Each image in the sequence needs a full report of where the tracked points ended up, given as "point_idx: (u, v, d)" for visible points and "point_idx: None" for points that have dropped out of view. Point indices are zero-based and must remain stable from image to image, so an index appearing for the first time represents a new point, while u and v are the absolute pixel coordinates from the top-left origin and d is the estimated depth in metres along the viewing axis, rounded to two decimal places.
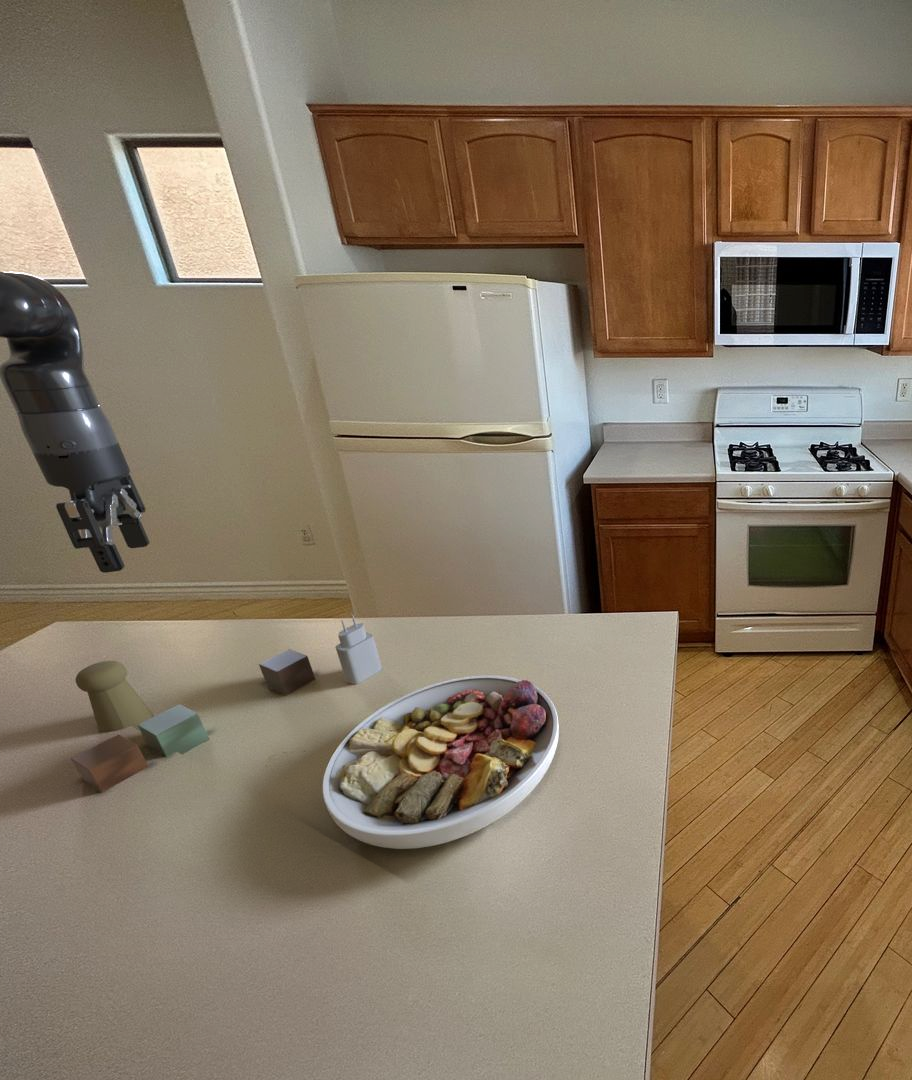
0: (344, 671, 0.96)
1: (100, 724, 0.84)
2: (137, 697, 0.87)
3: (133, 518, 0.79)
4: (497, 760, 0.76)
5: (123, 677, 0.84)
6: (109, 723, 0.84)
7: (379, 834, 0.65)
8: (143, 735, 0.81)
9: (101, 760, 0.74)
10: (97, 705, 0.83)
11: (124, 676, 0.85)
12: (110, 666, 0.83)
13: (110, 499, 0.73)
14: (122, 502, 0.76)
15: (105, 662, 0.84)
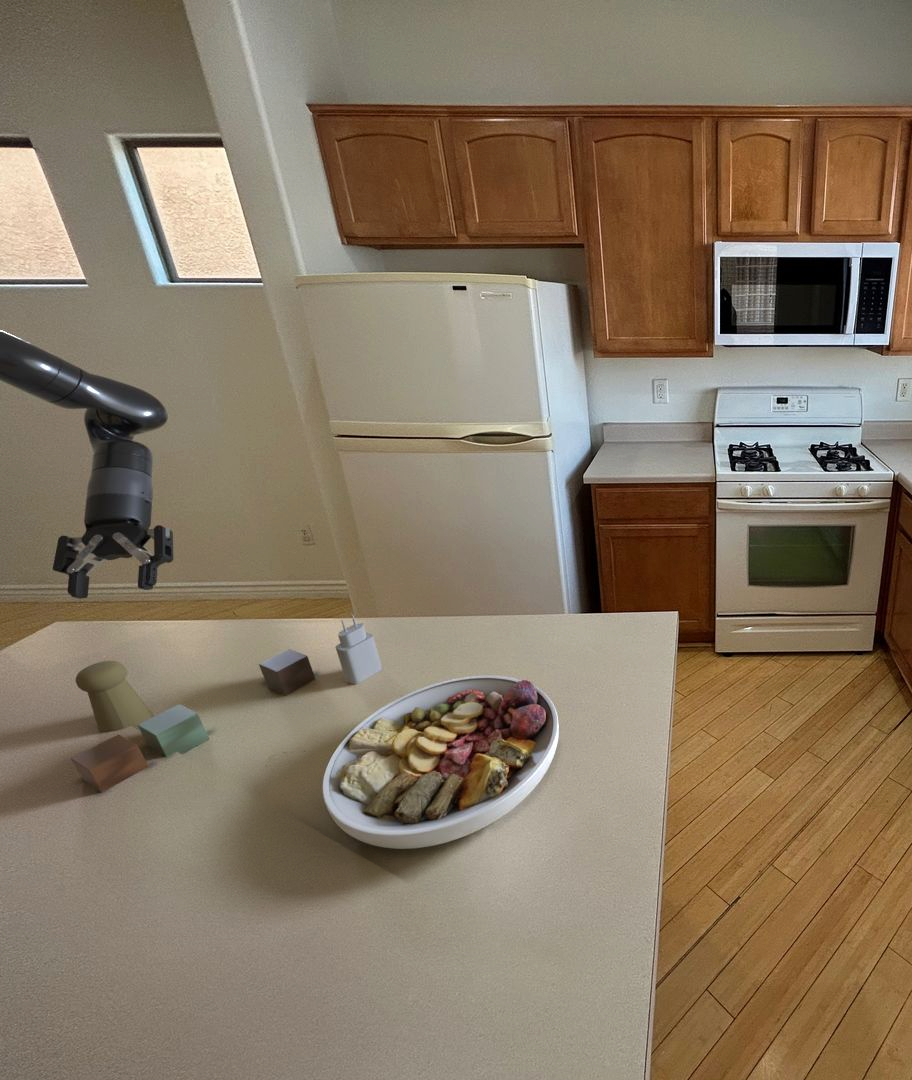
0: (344, 671, 0.96)
1: (100, 724, 0.84)
2: (137, 697, 0.87)
3: (87, 571, 0.89)
4: (497, 760, 0.76)
5: (123, 677, 0.84)
6: (109, 723, 0.84)
7: (379, 834, 0.65)
8: (143, 735, 0.81)
9: (101, 760, 0.74)
10: (97, 705, 0.83)
11: (124, 676, 0.85)
12: (110, 666, 0.83)
13: None
14: None
15: (105, 662, 0.84)
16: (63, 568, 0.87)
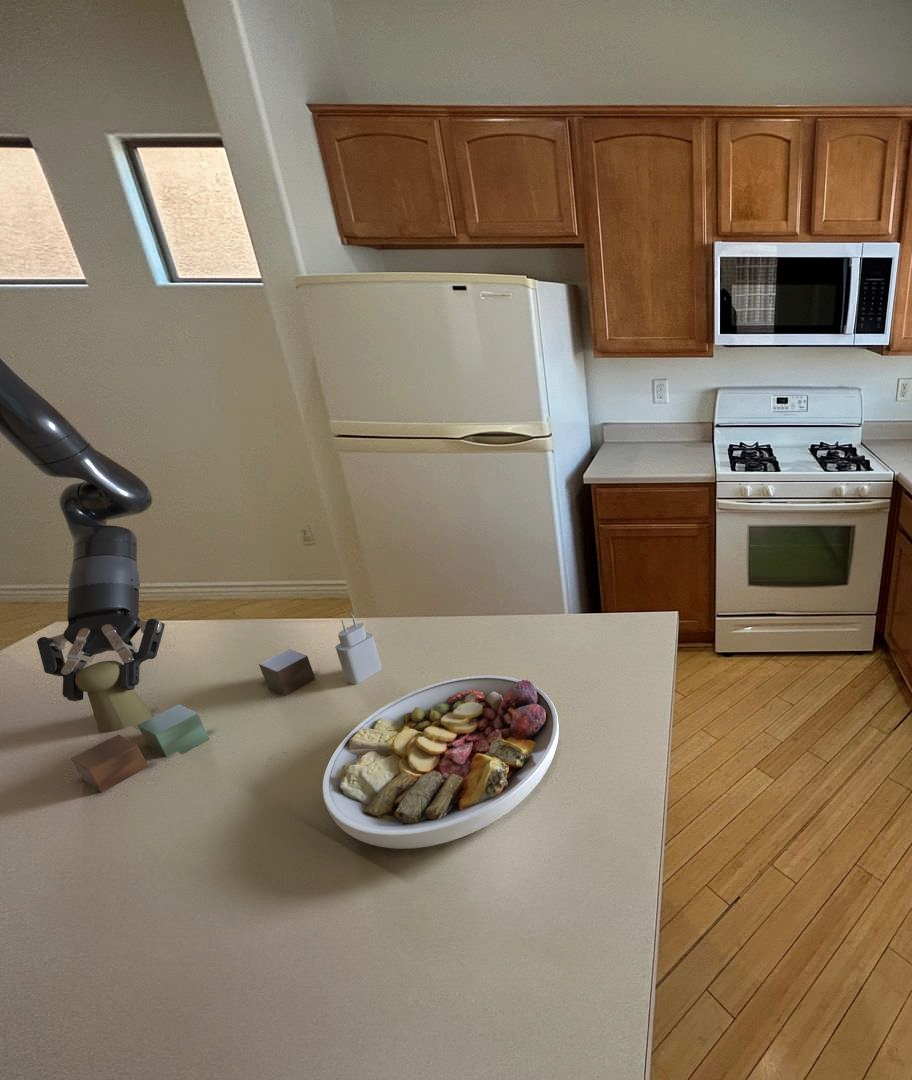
0: (344, 671, 0.96)
1: (100, 724, 0.84)
2: (137, 697, 0.87)
3: None
4: (497, 760, 0.76)
5: None
6: (109, 723, 0.84)
7: (379, 834, 0.65)
8: (143, 735, 0.81)
9: (101, 760, 0.74)
10: (97, 705, 0.83)
11: None
12: (110, 666, 0.83)
13: None
14: None
15: (105, 662, 0.84)
16: (57, 668, 0.82)
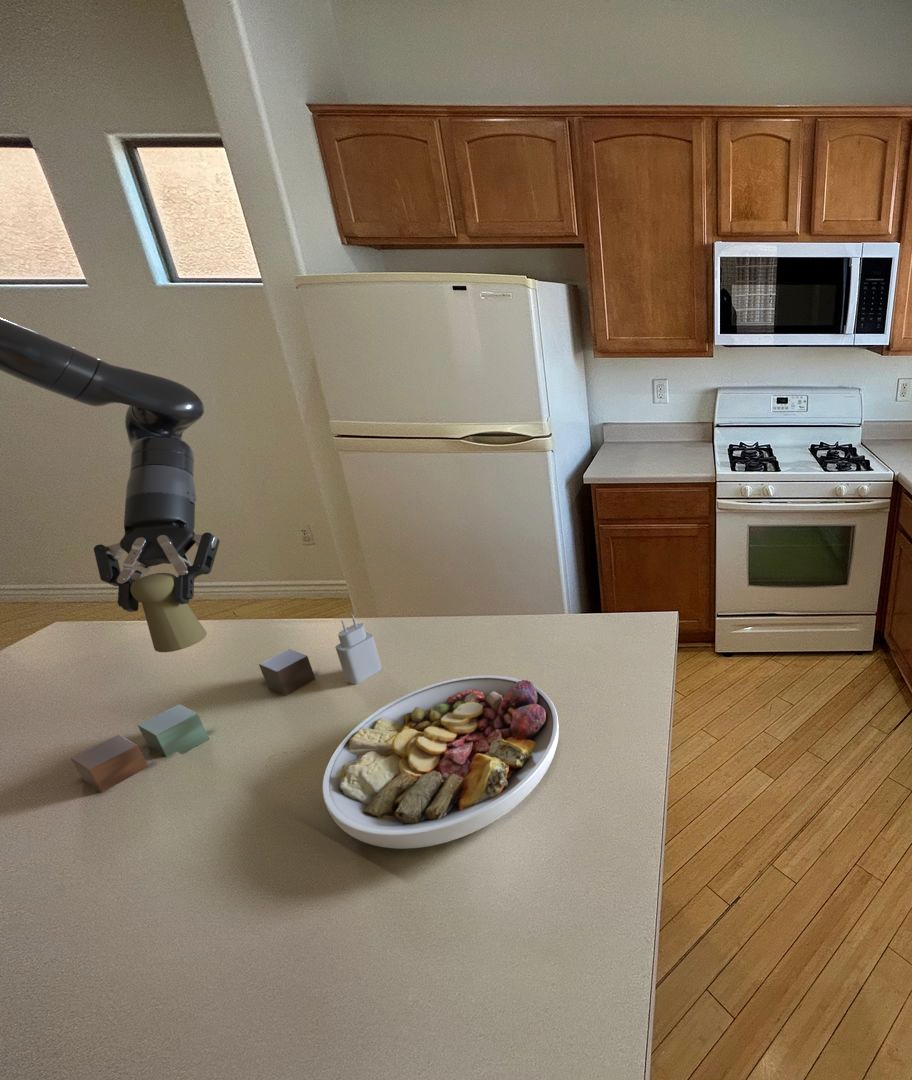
0: (344, 671, 0.96)
1: (154, 638, 0.81)
2: (191, 613, 0.83)
3: None
4: (497, 760, 0.76)
5: None
6: (163, 637, 0.81)
7: (379, 834, 0.65)
8: (143, 735, 0.81)
9: (101, 760, 0.74)
10: (152, 617, 0.80)
11: None
12: (165, 577, 0.80)
13: None
14: None
15: (160, 573, 0.81)
16: (112, 577, 0.79)
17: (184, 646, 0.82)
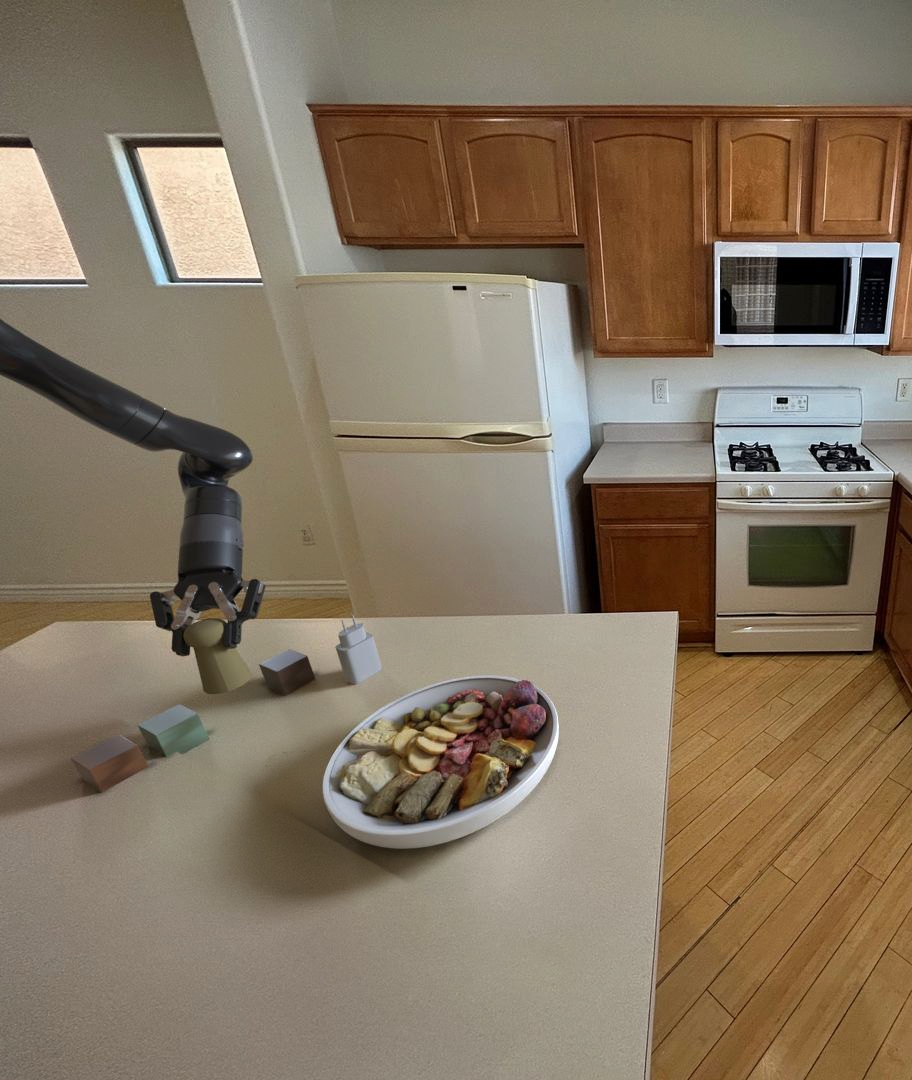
0: (344, 671, 0.96)
1: (204, 681, 0.85)
2: (238, 656, 0.87)
3: None
4: (497, 760, 0.76)
5: None
6: (212, 680, 0.85)
7: (379, 834, 0.65)
8: (143, 735, 0.81)
9: (101, 760, 0.74)
10: (202, 661, 0.83)
11: None
12: (215, 624, 0.84)
13: None
14: None
15: (210, 619, 0.84)
16: (167, 623, 0.83)
17: (231, 688, 0.86)
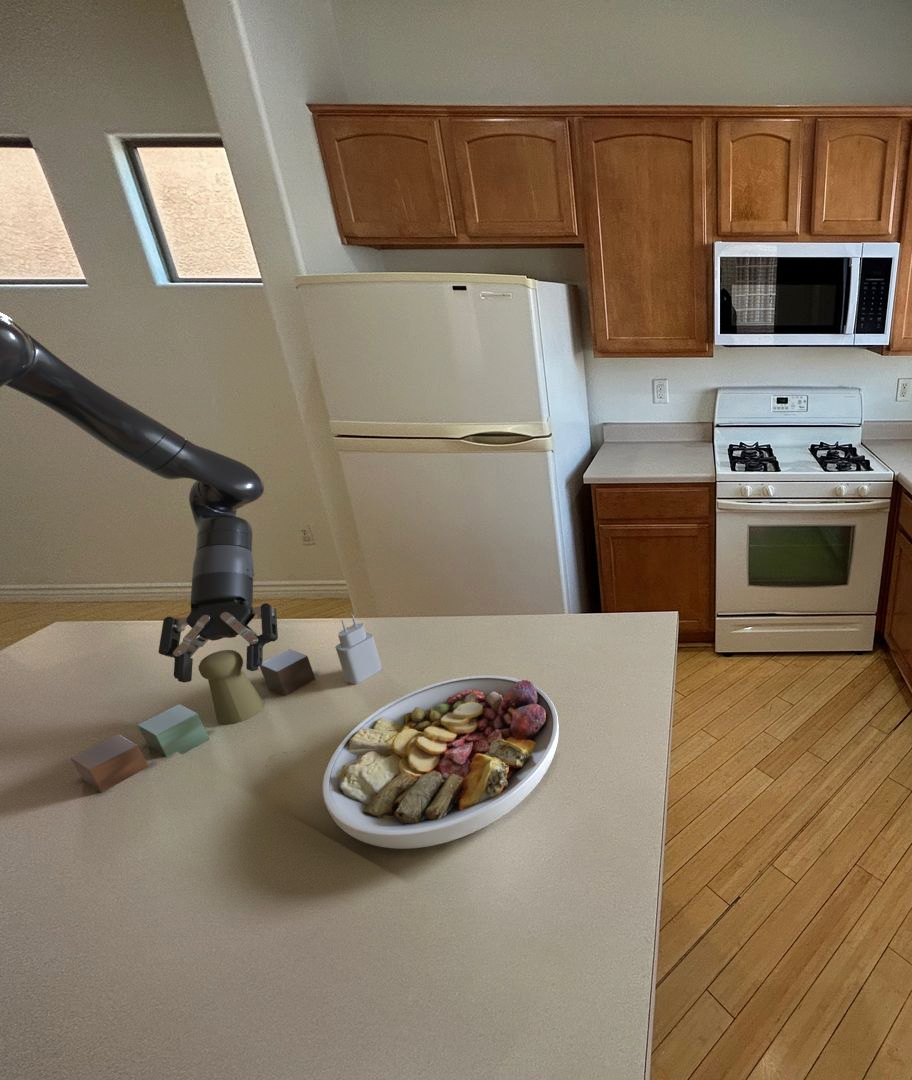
0: (344, 671, 0.96)
1: (218, 711, 0.87)
2: (251, 686, 0.90)
3: (191, 653, 0.86)
4: (497, 760, 0.76)
5: (240, 667, 0.87)
6: (226, 711, 0.87)
7: (379, 834, 0.65)
8: (143, 735, 0.81)
9: (101, 760, 0.74)
10: (217, 692, 0.86)
11: (241, 666, 0.87)
12: (229, 656, 0.86)
13: None
14: None
15: (224, 651, 0.87)
16: (169, 651, 0.84)
17: (244, 718, 0.88)
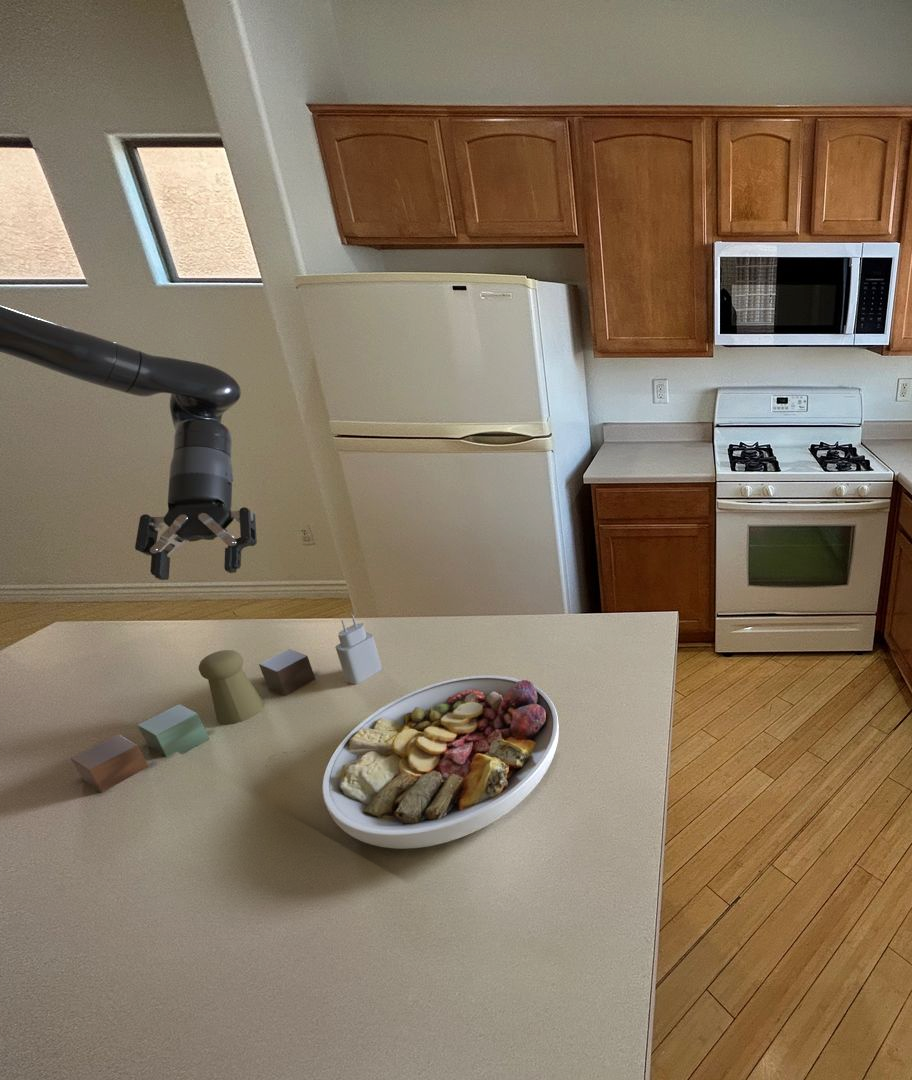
0: (344, 671, 0.96)
1: (218, 711, 0.87)
2: (251, 686, 0.90)
3: (168, 552, 0.86)
4: (497, 760, 0.76)
5: (240, 667, 0.87)
6: (226, 711, 0.87)
7: (379, 834, 0.65)
8: (143, 735, 0.81)
9: (101, 760, 0.74)
10: (217, 692, 0.86)
11: (241, 666, 0.87)
12: (229, 656, 0.86)
13: None
14: None
15: (224, 651, 0.87)
16: (145, 548, 0.84)
17: (244, 718, 0.88)
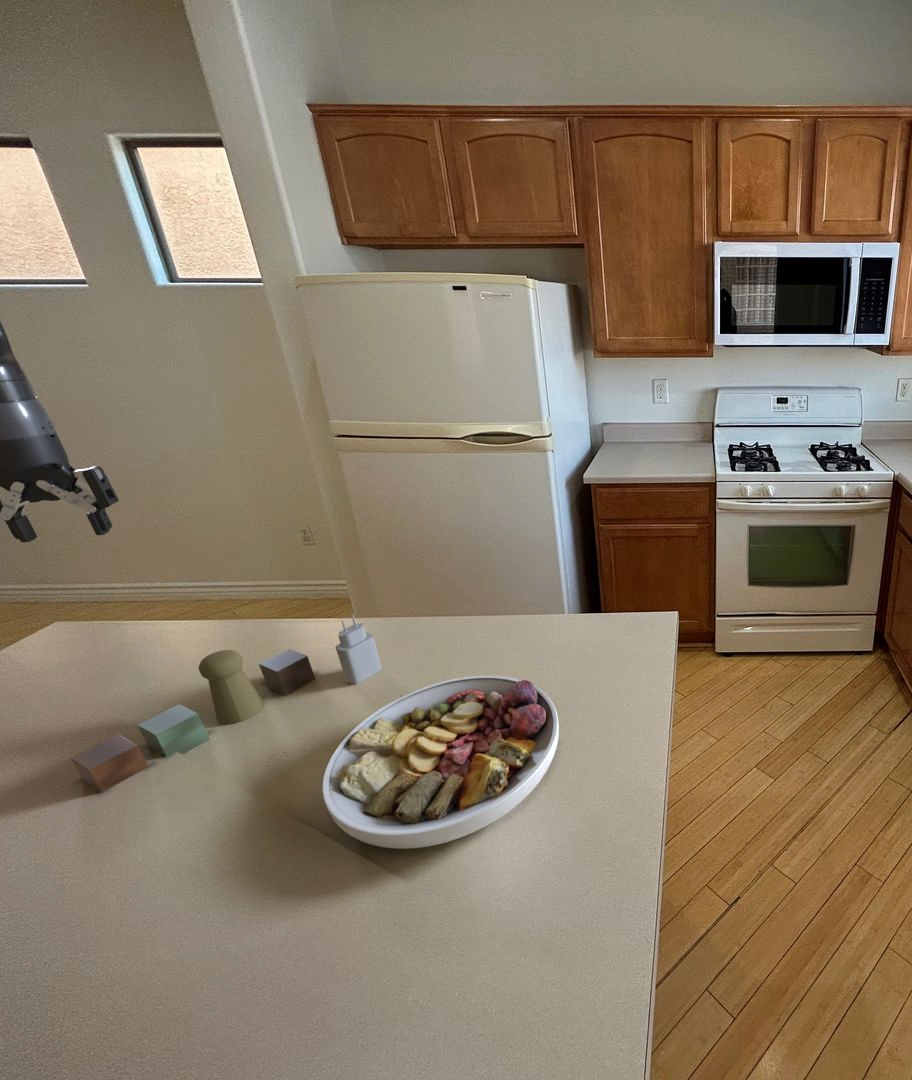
0: (344, 671, 0.96)
1: (218, 711, 0.87)
2: (251, 686, 0.90)
3: (21, 511, 0.82)
4: (497, 760, 0.76)
5: (240, 667, 0.87)
6: (226, 711, 0.87)
7: (379, 834, 0.65)
8: (143, 735, 0.81)
9: (101, 760, 0.74)
10: (217, 692, 0.86)
11: (241, 666, 0.87)
12: (229, 656, 0.86)
13: None
14: None
15: (224, 651, 0.87)
16: None
17: (244, 718, 0.88)
